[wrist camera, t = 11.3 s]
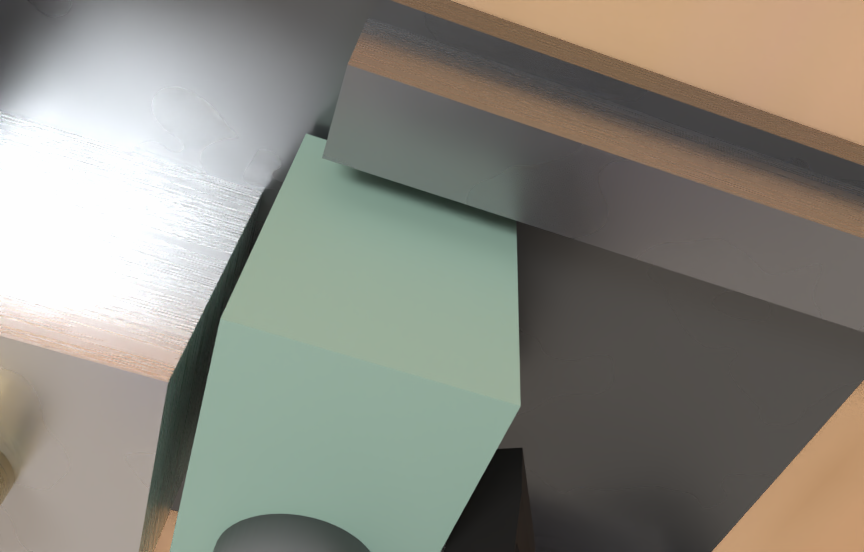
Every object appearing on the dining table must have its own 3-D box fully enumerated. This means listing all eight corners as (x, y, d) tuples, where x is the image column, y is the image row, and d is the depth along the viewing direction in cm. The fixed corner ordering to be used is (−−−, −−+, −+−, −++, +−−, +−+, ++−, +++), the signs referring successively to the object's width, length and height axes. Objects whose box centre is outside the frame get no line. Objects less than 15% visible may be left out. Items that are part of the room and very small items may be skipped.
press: (980, 187, 12) (1306, 517, 7) (635, 597, 18) (682, 918, 13) (-355, -284, 9) (-1216, -271, 5) (-216, 372, 16) (-526, 659, 11)
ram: (515, 201, 11) (522, 504, 7) (379, 506, 15) (329, 816, 11) (305, 133, 11) (178, 409, 7) (222, 464, 15) (108, 768, 11)
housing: (262, 191, 12) (132, 454, 8) (214, 403, 14) (98, 685, 10) (-58, 93, 11) (-385, 318, 7) (-47, 331, 14) (-282, 597, 10)
